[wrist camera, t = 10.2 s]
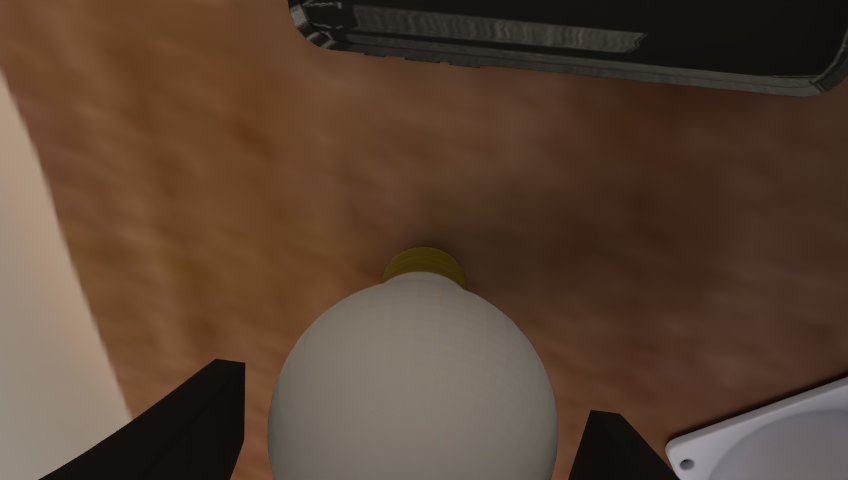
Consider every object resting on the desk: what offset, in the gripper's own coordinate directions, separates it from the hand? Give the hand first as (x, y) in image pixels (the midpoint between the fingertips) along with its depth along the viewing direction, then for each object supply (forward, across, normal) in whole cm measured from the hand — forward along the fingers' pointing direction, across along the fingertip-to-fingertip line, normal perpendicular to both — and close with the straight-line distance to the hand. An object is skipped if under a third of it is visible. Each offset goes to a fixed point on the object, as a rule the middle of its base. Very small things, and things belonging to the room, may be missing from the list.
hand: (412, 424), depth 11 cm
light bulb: (+7, 0, 0) cm, 7 cm away
